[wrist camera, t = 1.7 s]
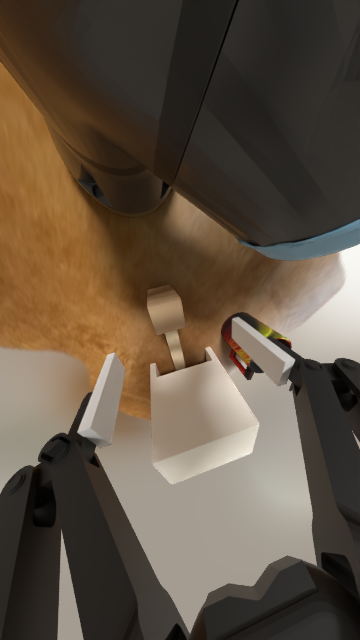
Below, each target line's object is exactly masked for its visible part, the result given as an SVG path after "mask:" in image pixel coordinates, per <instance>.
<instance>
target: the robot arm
mask: <svg viewBox="0 0 360 640" xmlns="http://www.w3.org/2000/svg"><path fill="white" fill-rule="evenodd" d="M0 61H1V63H2V64H3V65H4V67H5V68H6V69H7V70H8V72H9V73H10V74H11V75H12V77H13V78H14V79H15V81H16V82H17V83H18V84H19V86H20V87H21V88H22V89H23V91H24V92H25V93H26V95H27V96H28V97H29V98H30V100H31V101H32V102H33V103H34V105H35V106H36V107H37V109H38V110H39V111H40V112H41V114H42V115H43V116H44V118H45V121H46V124H47V126H48V129H49V131H50V134H51V137H52V139H53V142H54V144H55V146H56V148H57V150H58V152H59V154H60V156H61V158H62V160H63V161H64V163H65V165H66V166H67V168H68V169H69V171H70V172H71V174H72V175H73V177H74V178H75V179H76V180H77V182H78V183H79V184H80V185H81V186H82V188H83V189H84V190H85V191H86V192H87V193H88V194H89V195H90V196H91V197H93V198H94V199H95V200H96V201H97V202H98V203H99V204H101V205H102V206H104V207H105V208H107V209H108V210H110V211H112V212H114V213H117V214H119V215H123V216H128V217H140V216H144V215H147V214H149V213H151V212H153V211H154V210H156V209H157V208H158V207H159V206H160V205H161V204H162V203H163V202H164V201H165V199H166V198H167V196H168V194H169V192H170V190H171V187H172V189H173V190H175V191H176V192H177V193H179V194H180V195H181V196H183V197H184V198H185V199H187V200H188V201H189V202H191V203H192V204H193V205H195V206H196V207H197V208H199V209H200V210H201V211H203V212H204V213H205V214H207V215H208V216H209V217H210V218H212V219H213V220H214V221H216V222H217V223H218V224H220V225H221V226H222V227H223V228H225V229H226V230H227V231H229V232H230V233H231V234H232V235H234V236H235V238H236V239H237V240H238V241H239V242H240V243H241V244H243V245H244V246H247V247H249V248H253V249H255V250H256V251H258V252H260V253H261V254H263V255H264V256H266V257H269V258H272V259H276V260H288V261H298V260H307V259H312V258H317V257H322V256H326V255H329V254H333V253H336V252H339V251H342V250H345V249H347V248H350V247H353V246H355V245H358V244H360V0H0ZM232 338H233V340H234V341H235V342H236V343H237V344H238V345H239V346H240V347H241V348H242V349H243V350H244V351H245V352H246V353H247V354H248V355H249V356H250V358H251V359H252V360H253V361H254V362H255V363H256V364H257V365H258V366H259V367H260V368H261V369H262V370H263V371H264V372H265V373H266V374H267V375H268V377H269V378H270V379H271V380H272V381H273V382H274V383H275V384H276V385H277V386H281V385H284V384H286V383H287V381H288V379H289V380H290V381H291V382H292V384H291V386H290V389H289V391H291V390H292V391H293V397H294V403H295V409H296V415H297V421H298V427H299V433H300V438H301V444H302V451H303V456H304V463H305V469H306V474H307V480H308V486H309V493H310V499H311V505H312V511H313V520H312V534H313V542H314V548H315V555H316V561H317V566H316V565H314V564H311V563H308V562H305V561H303V560H300V559H296V558H293V557H290V556H285V557H283V558H281V559H279V560H277V561H275V562H273V563H271V564H269V565H268V566H267V568H266V570H265V571H264V572H263V574H262V575H261V577H260V578H259V579H258V581H257V582H256V584H255V585H254V586H252V587H250V586H243V585H236V584H227V585H225V586H223V587H220V588H218V589H216V590H214V591H212V592H210V593H209V594H208V596H207V599H206V602H205V603H204V605H203V606H202V608H201V610H200V612H199V613H198V616H197V618H196V621H195V623H194V626H193V628H192V631H191V633H189V632H188V630H187V628H186V626H185V624H184V622H183V620H182V618H181V616H180V614H179V612H178V610H177V608H176V606H175V604H174V602H173V600H172V598H171V597H170V595H169V594H168V592H167V591H166V590H165V589H164V588H163V587H162V586H161V584H160V582H159V581H158V579H157V577H156V575H155V573H154V571H153V569H152V567H151V565H150V563H149V561H148V558H147V556H146V554H145V552H144V550H143V548H142V546H141V544H140V542H139V540H138V538H137V536H136V534H135V532H134V530H133V528H132V526H131V524H130V522H129V520H128V518H127V516H126V514H125V511H124V509H123V507H122V506H121V503H120V502H119V499H118V497H117V495H116V493H115V491H114V489H113V487H112V485H111V483H110V481H109V479H108V477H107V475H106V473H105V471H104V469H103V467H102V465H101V463H100V460H99V458H98V456H97V454H96V453H95V452H94V451H95V448H96V446H97V447H99V448H103V447H106V446H109V445H111V443H112V438H113V433H114V428H115V423H116V417H117V412H118V407H119V402H120V397H121V391H122V386H123V381H124V376H125V371H126V370H125V368H124V366H123V365H122V363H121V361H120V360H119V358H118V357H117V355H116V353H112V354H108V355H107V357H106V360H105V362H104V365H103V368H102V370H101V373H100V375H99V378H98V380H97V383H96V385H95V388H94V391H93V392H90V393H88V394H87V395H86V397H85V398H84V399H83V401H82V403H81V406H80V409H79V410H78V412H77V415H76V417H75V419H74V422H73V424H72V426H71V428H70V431H69V433H68V435H67V434H65V433H59V434H57V435H55V436H54V437H52V438H51V439H50V440H49V441H48V442H47V443H46V444H45V446H44V447H43V448H42V450H41V452H40V454H39V457H38V461H39V462H41V463H40V464H39V465H37V466H36V467H33V466H31V465H29V466H25V467H23V468H22V469H20V470H19V471H18V472H16V473H15V474H14V475H13V476H12V478H11V479H10V480H9V481H8V482H7V484H6V485H5V487H4V488H3V490H2V492H1V494H0V640H57V633H58V606H59V578H60V577H59V576H60V551H61V529H62V533H63V539H64V544H65V549H66V554H67V558H68V564H69V569H70V574H71V579H72V583H73V588H74V593H75V598H76V603H77V608H78V613H79V618H80V623H81V628H82V633H83V638H84V640H360V449H359V447H358V444H357V442H356V440H355V437H354V435H353V433H354V434H355V436H356V437H357V439H358V440H359V442H360V364H359V363H358V362H355V361H353V360H350V359H345V358H338V359H336V360H335V362H334V363H324V364H323V363H322V364H321V363H319V362H317V361H314V360H311V359H304V358H302V357H301V356H300V355H298V354H297V353H295V352H294V351H292V350H291V349H290V348H288V347H286V346H285V345H284V344H282V343H281V342H280V341H278V340H277V339H275V338H272V337H270V336H269V337H264V336H263V335H262V334H260V333H259V332H258V331H256V330H255V329H254V328H252V327H251V326H250V325H248V324H247V323H246V322H244V321H243V320H242V319H240V318H239V317H236V318H233V319H232ZM352 431H353V432H352Z"/></svg>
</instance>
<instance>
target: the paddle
mask: <svg viewBox="0 0 360 640" xmlns="http://www.w3.org/2000/svg"><path fill="white" fill-rule="evenodd" d="M147 309H148V312H149V315H150V317H151V320H152V323H153V326H154V329H155V332H156V335H160V334H163V333H165V335H166V339H167V342H168V345H169V349H170V352H171V356H172V359H173V362H174V366H175V369H176V371H179V370H182V369H185V368H186V366H185V362H184V358H183V353H182V349H181V345H180V341H179V336H178V332H177V330H178V329H181V328H185V327H186V324H185V319H184V314H183V309H182V303H181V299H180V297H179V296H178V294H177V293H176V292H175V290H174V289H173V287H172V286H171V284H169V285H165V286H161V287H157V288H153V289H149V290H147Z"/></svg>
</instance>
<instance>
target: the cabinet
mask: <svg viewBox="0 0 360 640" xmlns="http://www.w3.org/2000/svg"><path fill="white" fill-rule="evenodd" d="M205 352H206V361H207V362H205V363H202V364H198V365H195V366H192V367H189V368H185V369H182V370H179V371H176V372H172V373H169V374H166V375H163V376H160V373H159V371H158V368H157V365H156V363H153V364H150V381H151V436H152V465H153V466H154V467H155V468H156V469H157V470H158V471H159V472H160V473H161V474H162V475H163V476H164V477H165V478H166V479H167V480H168V482H169V483H171V484H175V483H178V482H180V481H183V480H185V479H187V478H190V477H193V476H195V475H198V474H200V473H203V472H205V471H208V470H210V469H213V468H215V467H218V466H221V465H223V464H226V463H228V462H231V461H233V460H236V459H238V458H241V457H243V456H246V455H248V454H251V453H252V450H253V446H254V443H255V439H256V436H257V432H258V428H259V422H258V420H257V419H256V417H255V416H254V414H253V413H252V411H251V410H250V408H249V407H248V405H247V403H246V402H245V400H244V399H243V397H242V396H241V394H240V393H239V391H238V390H237V388H236V387H235V385H234V383H233V382H232V380H231V379H230V377H229V375H228V374H227V372H226V371H225V369H224V368H223V366H222V365H221V363H220V361H219V360H218V358H217V357H216V355H215V354H214V352H213V351H212V349H211V348H210V347H207V348H205Z"/></svg>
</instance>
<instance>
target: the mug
mask: <svg viewBox="0 0 360 640" xmlns="http://www.w3.org/2000/svg"><path fill="white" fill-rule="evenodd" d="M236 317H239V318H240V319H242V320H243V321H244V322H246V323H247V324H248V325H250V326H251V327H252V328H254V329H255V330H256V331H258V332H259V333H260V334H262V335H263V336H264V337H269V336H270V337H272V338H275V339H277V340H278V341H280V342H281V343H282V344H284V345H285V346H286V347H288V348H290V349H291V342H290V340H288V339H287V338H285V337H284V336H282V335H281V334H279V333H277V332H276V331H274V330H273V329H271V328H270V327H268V326H266V325H265V324H263V323H262V322H260V321H258V320H257V319H255V318H254V317H252V316H251V315H249V314H247V313H244V312H240V313H236V314H234V315H232V316H230V317H229V318H228V319H227V320H226V321H225V323H224V324H223V326H222V330H221V333H222V336H223V338H224V339H225V340H226V341H227V343H228V344H229V345H230V346H231V347H232V349H231V352H230V355H229V357H230V358H231V360H232V361H233V362H234V364H235V365H236V366H237V367H238V368H239V370H240V371H241V372H242V374H243V375H244V376H245V378H247V380H251V378H252V376H253V374H254V372H255V373H264V371H263V370H262V369H261V368H260V367H259V366H258V365H257V364H256V363H255V362H254V361H253V360H252V359H251V358H250V356H249V355H248V354H247V353H246V352H245V351H244V350H243V349H242V348H241V347H240V346H239V345H238V344H237V343H236V342H235V341H234V340H233V338H232V319H233V318H236ZM236 354H238V355H239V356H240V358H241V359H242V360H243V361H244V362H245V363H246V365H247V369H245V368H244V367H243V366H242V365H241V363H240V362H239V361H238V360H237V358H236Z"/></svg>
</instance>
